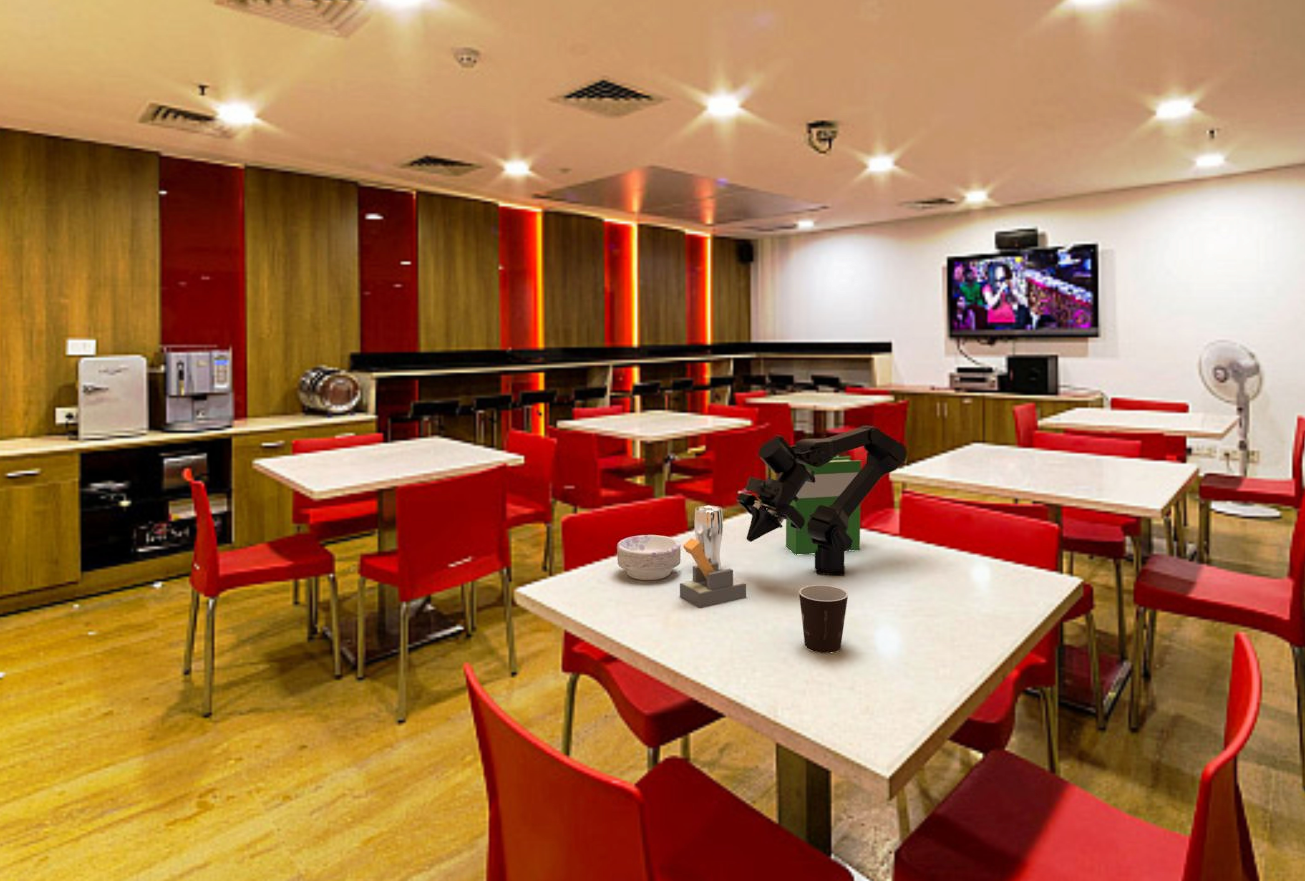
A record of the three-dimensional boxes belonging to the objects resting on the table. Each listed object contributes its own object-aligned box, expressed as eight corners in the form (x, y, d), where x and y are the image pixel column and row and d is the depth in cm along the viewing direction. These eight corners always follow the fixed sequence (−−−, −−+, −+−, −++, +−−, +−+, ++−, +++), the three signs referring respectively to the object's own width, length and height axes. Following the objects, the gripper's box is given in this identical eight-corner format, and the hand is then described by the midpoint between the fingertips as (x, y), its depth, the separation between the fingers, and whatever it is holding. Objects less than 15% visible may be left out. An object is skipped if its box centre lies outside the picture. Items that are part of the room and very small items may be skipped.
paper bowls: (668, 587, 165) (667, 554, 164) (607, 581, 171) (606, 548, 170) (689, 568, 179) (689, 537, 178) (632, 562, 185) (632, 532, 184)
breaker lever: (713, 575, 160) (691, 537, 156) (722, 579, 157) (700, 541, 153) (705, 582, 159) (682, 545, 156) (714, 587, 156) (691, 549, 152)
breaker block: (725, 586, 165) (725, 559, 164) (746, 597, 158) (746, 568, 157) (680, 596, 159) (679, 567, 158) (699, 607, 152) (699, 577, 151)
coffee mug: (809, 632, 138) (809, 582, 137) (853, 642, 133) (854, 590, 132) (783, 654, 129) (784, 600, 127) (830, 666, 124) (831, 610, 123)
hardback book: (847, 543, 199) (849, 456, 196) (859, 550, 192) (861, 460, 188) (785, 547, 196) (786, 459, 193) (795, 555, 189) (796, 463, 185)
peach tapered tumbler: (721, 573, 175) (721, 512, 173) (693, 571, 176) (692, 511, 174) (724, 564, 182) (724, 505, 180) (697, 563, 183) (696, 505, 181)
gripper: (742, 458, 170) (703, 511, 166) (794, 469, 154) (752, 528, 150) (769, 487, 175) (732, 538, 171) (822, 501, 159) (783, 558, 155)
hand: (748, 540), depth 162 cm, fingers closed
